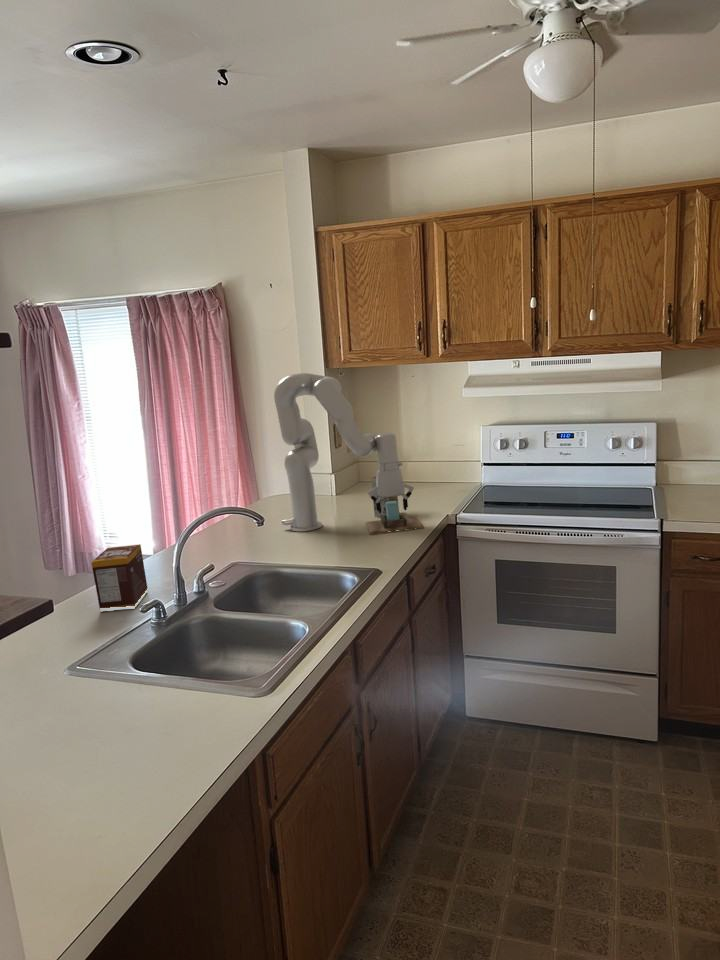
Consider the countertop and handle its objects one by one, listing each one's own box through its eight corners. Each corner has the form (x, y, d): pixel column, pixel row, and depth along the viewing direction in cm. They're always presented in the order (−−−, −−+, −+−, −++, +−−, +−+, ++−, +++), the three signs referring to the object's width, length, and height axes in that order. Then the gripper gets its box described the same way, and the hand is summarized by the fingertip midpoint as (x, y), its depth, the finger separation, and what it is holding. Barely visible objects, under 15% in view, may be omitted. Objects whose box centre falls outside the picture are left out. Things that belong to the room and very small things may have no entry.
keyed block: (387, 522, 276) (385, 502, 275) (397, 521, 277) (395, 500, 275) (389, 526, 269) (387, 505, 268) (400, 525, 270) (398, 504, 268)
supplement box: (148, 591, 224) (141, 543, 221) (135, 609, 209) (126, 558, 206) (115, 595, 224) (107, 547, 221) (99, 613, 209) (90, 561, 206)
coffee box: (387, 517, 287) (383, 478, 284) (374, 516, 291) (370, 477, 288) (399, 512, 294) (396, 473, 291) (387, 511, 298) (383, 473, 295)
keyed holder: (370, 534, 265) (369, 525, 264) (365, 524, 280) (364, 515, 280) (423, 528, 266) (422, 519, 266) (416, 518, 282) (415, 509, 281)
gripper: (409, 462, 273) (413, 506, 277) (364, 467, 272) (368, 511, 275) (412, 465, 266) (416, 510, 269) (366, 470, 265) (370, 515, 268)
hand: (392, 510), depth 272 cm, fingers open, 9 cm apart
